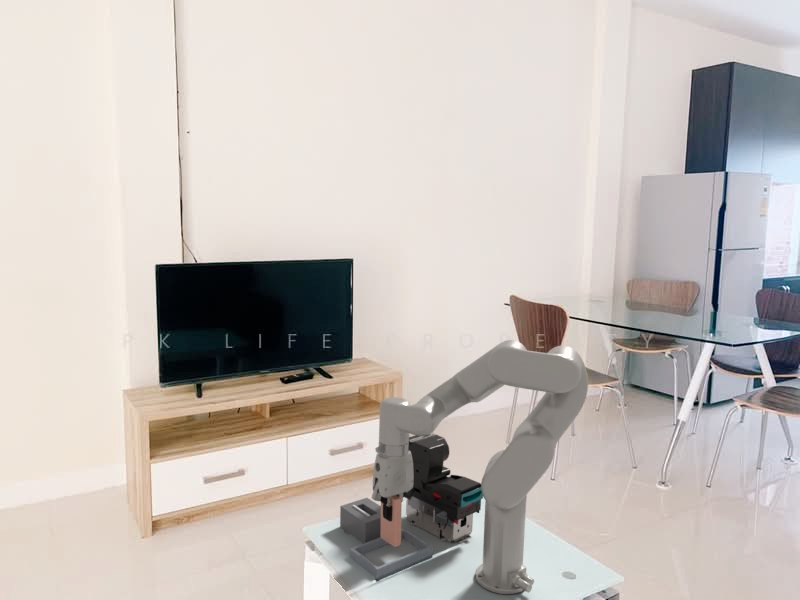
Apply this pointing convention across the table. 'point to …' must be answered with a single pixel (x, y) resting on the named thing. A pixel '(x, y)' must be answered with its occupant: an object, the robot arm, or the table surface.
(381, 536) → the salmon pink rectangular block
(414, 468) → the bill acceptor
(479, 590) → the table surface
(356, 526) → the dispenser
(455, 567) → the table surface
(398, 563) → the tray
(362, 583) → the table surface
